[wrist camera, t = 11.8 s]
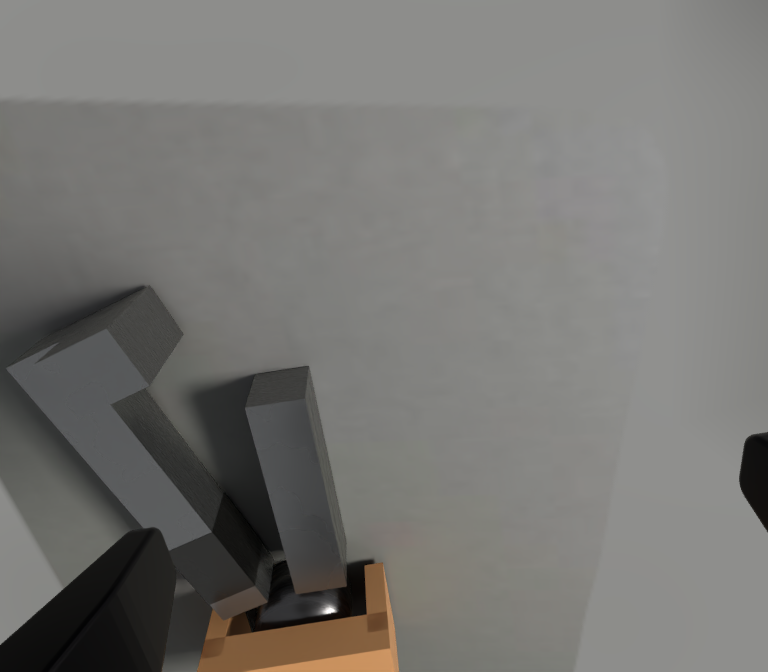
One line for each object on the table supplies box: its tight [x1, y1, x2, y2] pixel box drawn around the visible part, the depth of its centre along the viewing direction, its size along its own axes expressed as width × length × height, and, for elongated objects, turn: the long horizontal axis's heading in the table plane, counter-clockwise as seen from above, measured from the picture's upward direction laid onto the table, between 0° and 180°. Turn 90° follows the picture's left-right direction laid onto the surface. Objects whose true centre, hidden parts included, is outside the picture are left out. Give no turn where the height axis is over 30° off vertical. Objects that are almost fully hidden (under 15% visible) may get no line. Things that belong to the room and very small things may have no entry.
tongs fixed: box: [245, 366, 352, 632], centre depth 22 cm, size 13×4×2 cm, turn 8°
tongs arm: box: [6, 286, 274, 621], centre depth 20 cm, size 12×4×4 cm, turn 25°
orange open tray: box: [197, 563, 399, 672], centre depth 23 cm, size 4×7×4 cm, turn 98°
